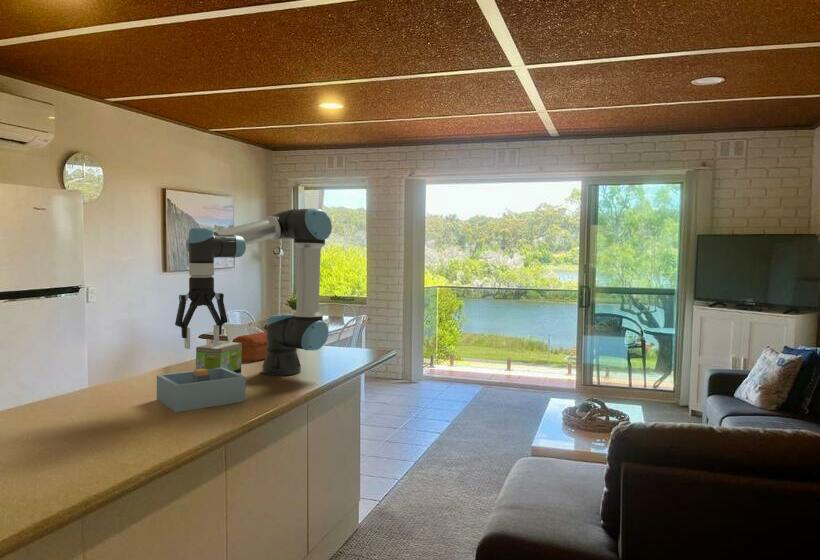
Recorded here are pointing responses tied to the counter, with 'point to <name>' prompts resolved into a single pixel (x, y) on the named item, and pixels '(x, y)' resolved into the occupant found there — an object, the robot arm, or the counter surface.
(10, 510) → the counter surface
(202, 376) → the block
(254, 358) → the bread
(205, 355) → the tea box
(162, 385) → the walled box
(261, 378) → the counter surface
